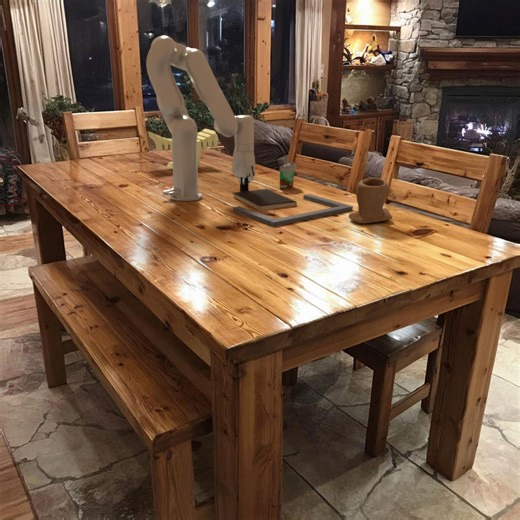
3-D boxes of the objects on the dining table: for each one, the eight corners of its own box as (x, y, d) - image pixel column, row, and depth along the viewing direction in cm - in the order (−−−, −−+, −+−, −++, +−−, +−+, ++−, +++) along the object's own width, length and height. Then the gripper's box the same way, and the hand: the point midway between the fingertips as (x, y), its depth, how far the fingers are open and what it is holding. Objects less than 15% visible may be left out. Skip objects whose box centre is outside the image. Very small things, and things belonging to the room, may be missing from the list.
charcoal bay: (273, 226, 185) (273, 222, 184) (232, 211, 203) (232, 207, 202) (352, 210, 206) (352, 206, 206) (309, 197, 224) (309, 193, 223)
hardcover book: (259, 211, 205) (259, 205, 204) (232, 198, 224) (232, 192, 223) (296, 206, 212) (296, 200, 211) (267, 194, 231) (267, 188, 230)
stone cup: (361, 228, 184) (364, 183, 179) (344, 219, 195) (346, 176, 190) (400, 224, 189) (405, 180, 184) (381, 215, 200) (385, 173, 195)
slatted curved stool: (160, 172, 269) (158, 135, 263) (150, 167, 282) (148, 131, 276) (217, 168, 282) (217, 132, 276) (206, 162, 295) (205, 128, 289)
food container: (293, 190, 235) (294, 167, 232) (279, 189, 237) (279, 166, 233) (297, 184, 247) (298, 161, 243) (283, 183, 248) (284, 161, 245)
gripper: (225, 146, 224) (226, 190, 231) (247, 150, 213) (247, 197, 220) (240, 144, 229) (241, 188, 235) (263, 149, 218) (262, 195, 224)
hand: (244, 193), depth 227 cm, fingers closed
